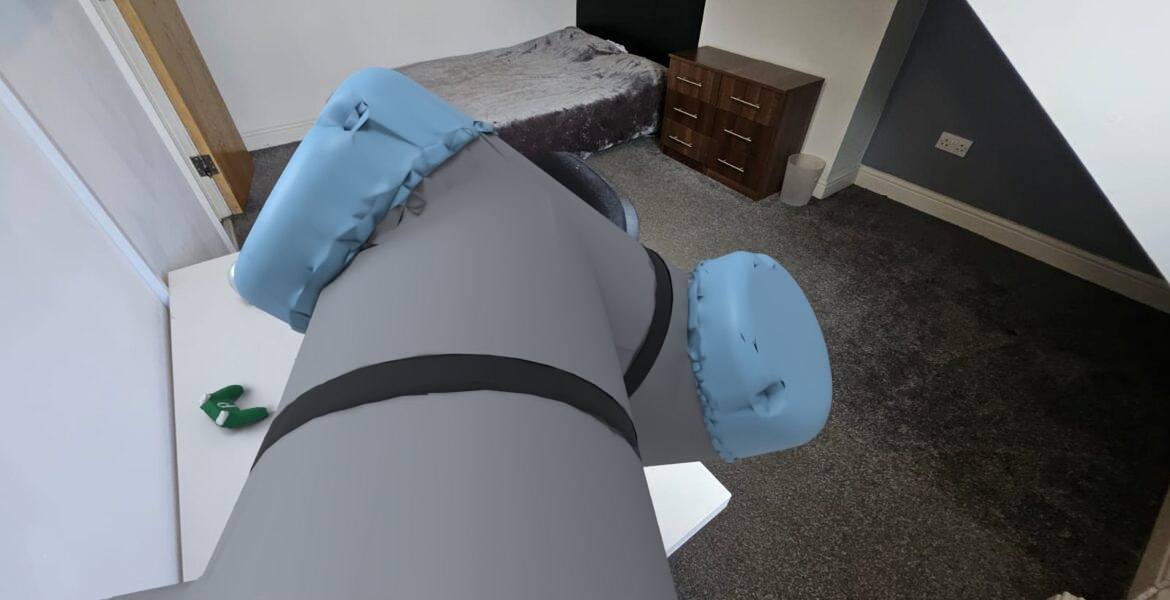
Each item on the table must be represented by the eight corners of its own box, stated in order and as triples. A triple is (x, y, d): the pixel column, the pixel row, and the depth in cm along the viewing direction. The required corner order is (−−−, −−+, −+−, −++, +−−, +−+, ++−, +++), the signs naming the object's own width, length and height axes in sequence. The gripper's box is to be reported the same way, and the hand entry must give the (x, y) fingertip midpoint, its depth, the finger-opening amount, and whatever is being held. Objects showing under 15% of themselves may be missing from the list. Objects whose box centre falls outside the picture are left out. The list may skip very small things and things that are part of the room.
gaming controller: (232, 403, 78) (190, 405, 72) (241, 382, 78) (200, 383, 72) (262, 431, 74) (220, 436, 68) (271, 409, 74) (230, 412, 68)
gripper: (454, 697, 19) (314, 625, 34) (648, 322, 37) (501, 379, 51) (314, 592, 17) (228, 562, 32) (588, 248, 35) (453, 329, 49)
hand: (396, 450), depth 41 cm, fingers open, 13 cm apart
